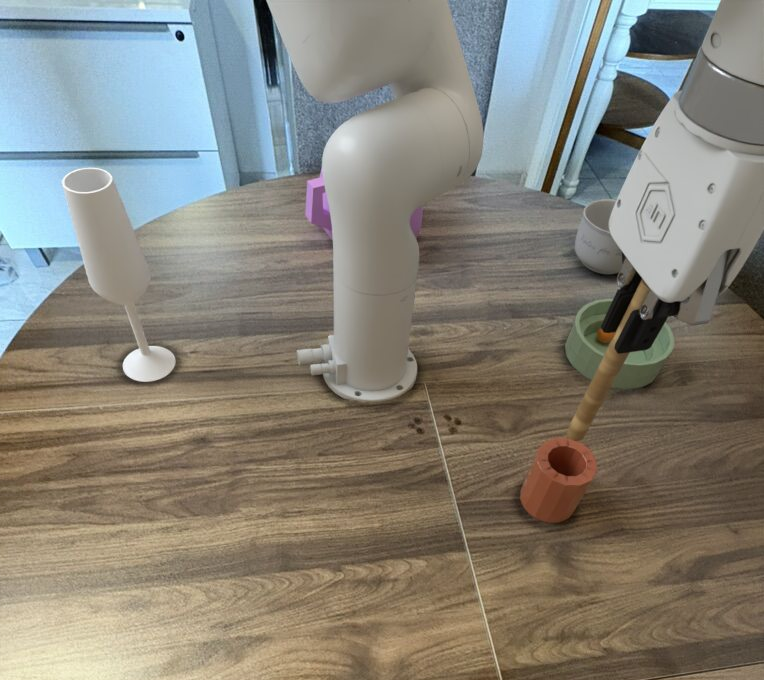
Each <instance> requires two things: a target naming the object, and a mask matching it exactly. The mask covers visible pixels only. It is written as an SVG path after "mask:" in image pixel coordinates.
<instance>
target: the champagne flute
mask: <svg viewBox="0 0 764 680" xmlns="http://www.w3.org/2000/svg"><path fill="white" fill-rule="evenodd" d="M61 185H62V189H63V192H64V193H63V194H64V195H65V196H64V197H65V201H66V203H67V207H68V211H69V214H70V219H71V223H72V226H73V229H74V233H75V237H76V240H77V244H78V247H79V251H80V255H81V259H82V262H83V266H84V270H85V273H86V277H87V281H88V284H89V286H90V288H91V289H92V290H93V291H94V292H95V294H97V295H98V296H99V297H101V298H103V299H104V300H106V301H108V302H110V303H113V304H117V305H120V306H124V308H125V312H126V315H127V317H128V320H129V323H130V326H131V329H132V332H133V335H134V338H135V340H136V343H137V347H138V348H136V349H134V350H132V351H131V352H130V353H129V354H127V356H126V357H125V358H124V360H123V362H122V369H123V370H122V371H123V372H124V374H125V375H126V376H127V377H128V378H130V380H131V379H132V380H133V381H137V382H143V383H148V382H155V381H158V380H161V379H164V378H165V377H167V376H168V375H169V374H171V372H172V371H173V370H174V368H175V367H176V357H175V355H174V353H173V352H172V351H171V350H169V349H168V348H166V347H163V346H159V345H149V344H148V341H147V338H146V335H145V331H144V328H143V325H142V322H141V320H140V319H141V318H140V316H139V313H138V310H137V307H136V304H135V303H137V302H138V301H140V299H141V298H142V297H143V296H145V294H146V293H147V291H148V289H149V287H150V283H151V280H152V274H151V273H152V272H151V269H150V266H149V264H148V262H147V259H146V257H145V254H144V252H143V250H142V247H141V245H140V242H139V239H138V238H137V235H136V231H135V230H134V227H133V225H132V222H131V220H130V217H129V215H128V213H127V210H126V207H125V205H124V202H123V200H122V198H121V194H120V193H119V190H118V187H117V185H116V183H115V179H114V178H113V175H112V174H111V173H110V172H109V171H107V170H105V169H103V168H99V167H82V168H77V169H75V170H72V171H70V172H68V173H67V174H65V175H64V176H63V178H62V179H61Z"/></svg>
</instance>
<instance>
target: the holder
mask: <svg viewBox="0 0 764 680" xmlns="http://www.w3.org/2000/svg"><path fill="white" fill-rule="evenodd" d="M597 473H598V460H597V459H596V457H595V455H594V453H593V451H592V450H591V449H590V448H589V447H587V446H586V445H585V444H583V443H582V442H580V441H573V440H571V439H570V438H569V437H553V438H551V439H548V440H546V441H544V442H543V443H542V444H541V445H540V446H539V448H538V449H537V451H536V453H535V454H534V457H533V460H532V463H531V465H530V467H529V469H528V472H527V474H526V476H525V479H524V480H523V483H522V486H521V488H520V495H519V500H520V502H521V505H522V507H523V508H524V510H525V511H526V512H527V513H528V514H529V515H530V516H531V517H532V518H534V519H536V520H538V521H540V522H544V523H551V524H552V523H553V524H555V523H561V522H564V521H566V520H567V519H570V518H571V517H572V515H573V514H574V512H575V511H576V509H577V508H578V506H579V504H580V502H581V501H582V499H583V498H584V495H585V494H586V492H587V491H588V489H589V487H590V485H591V484H592V482H593V481H594V478H595V477H596V475H597Z"/></svg>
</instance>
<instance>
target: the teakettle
mask: <svg viewBox="0 0 764 680" xmlns="http://www.w3.org/2000/svg"><path fill="white" fill-rule="evenodd" d="M320 169H321V170H320V173H319V177H316V178H312V179H308V180H306V197H305V214H304V215H305V217H306V218H307V220H308V221H309V223H310V224H311V225H315V226H318V227H321V228H323V230H324V232H325V233H326V234H327V235H328V237H329V238H330V239H331V241H332V242H333V237H332V225H331V217H330V211H329V205H328V200H327V196H326V191H325V186H324V181H323V175H322V167H320ZM423 208H424V205H423V206H421V207H419V208H418V209H416V210H415V211H414V212H413V214H412V215H411V218H410V227H411V229H412V231H413V233H414V235H415V237H416V239H417V238H418V236H419V234H420V232H421V229H422V225H423V212H424V211H423Z"/></svg>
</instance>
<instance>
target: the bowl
mask: <svg viewBox="0 0 764 680" xmlns="http://www.w3.org/2000/svg"><path fill="white" fill-rule="evenodd" d="M613 299H614V298H611V297H610V298H602V299H596V300H593V301H590V302H588V303H586V304H584V305H583V306H582V307H581V308H580V309H579V310H578V311H577V312H576V314H575V318H574V320H573V322H572V325H571V328H570V331H569V333H568V335H567V338H566V341H565V344H564V349H565V354H566V358H567V359H568V362H569V364H570V365H571V366H572V367H573V368H574V369H575V370H577V371H578V372H579V373H580V374H581V375H582V376H584V377H585V378H587V379H588V380H591V381H592V379H593V377H594V375H595V373H596V371H597V369H598V367H599V365H600V363H601V361H602V359H603V357H604V355H605V353H606V351H607V349H608V347H609V345H610V343H611V341H610V342H608V343H602V342H600V341H599V340H598V338H597V332H598V330H599V329H600V328H601V325H602V322H603V320H604V318H605V316H606V314H607V312H608V309H609V307H610V305H611V303H612V301H613ZM675 340H676V339H675V337H674V333H673V330H672V329H671V327H670V326H669V324H668V323H667V321H666V322H665V323H664V325H663V327H662V329H661V330H660V332H659V334H658V336H657V337H656V339H655V341H654V343H653V344H652V346H651V347H650V348H649V349H647V350H643V351H636V352H630V353H629V355H628V356H627V358H626V360H625V362H624V364H623V366H622V368H621V369H620V371H619V373H618V375H617V377H616V379H615V381H614V382H613V384H612V386H611V388H612V389H622V390H632V389H637V388H643V387H645V386H647V385H649V384H651V383H653V382H654V380H655V379H656V378H657V377H658V376H659V374H660V373H661V371H662V370H663V367H664V366H665V365H666V362H667V361H668V359H669V357H670V356H671V355H672V353H673V351H674V346H675ZM611 388H610V389H611Z"/></svg>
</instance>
